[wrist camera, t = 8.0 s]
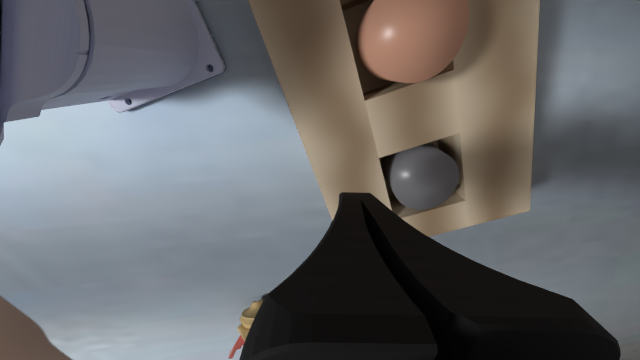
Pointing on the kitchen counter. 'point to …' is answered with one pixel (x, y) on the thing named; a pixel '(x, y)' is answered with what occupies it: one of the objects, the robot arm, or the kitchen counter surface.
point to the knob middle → (411, 37)
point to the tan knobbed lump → (245, 325)
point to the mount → (411, 106)
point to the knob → (421, 176)
